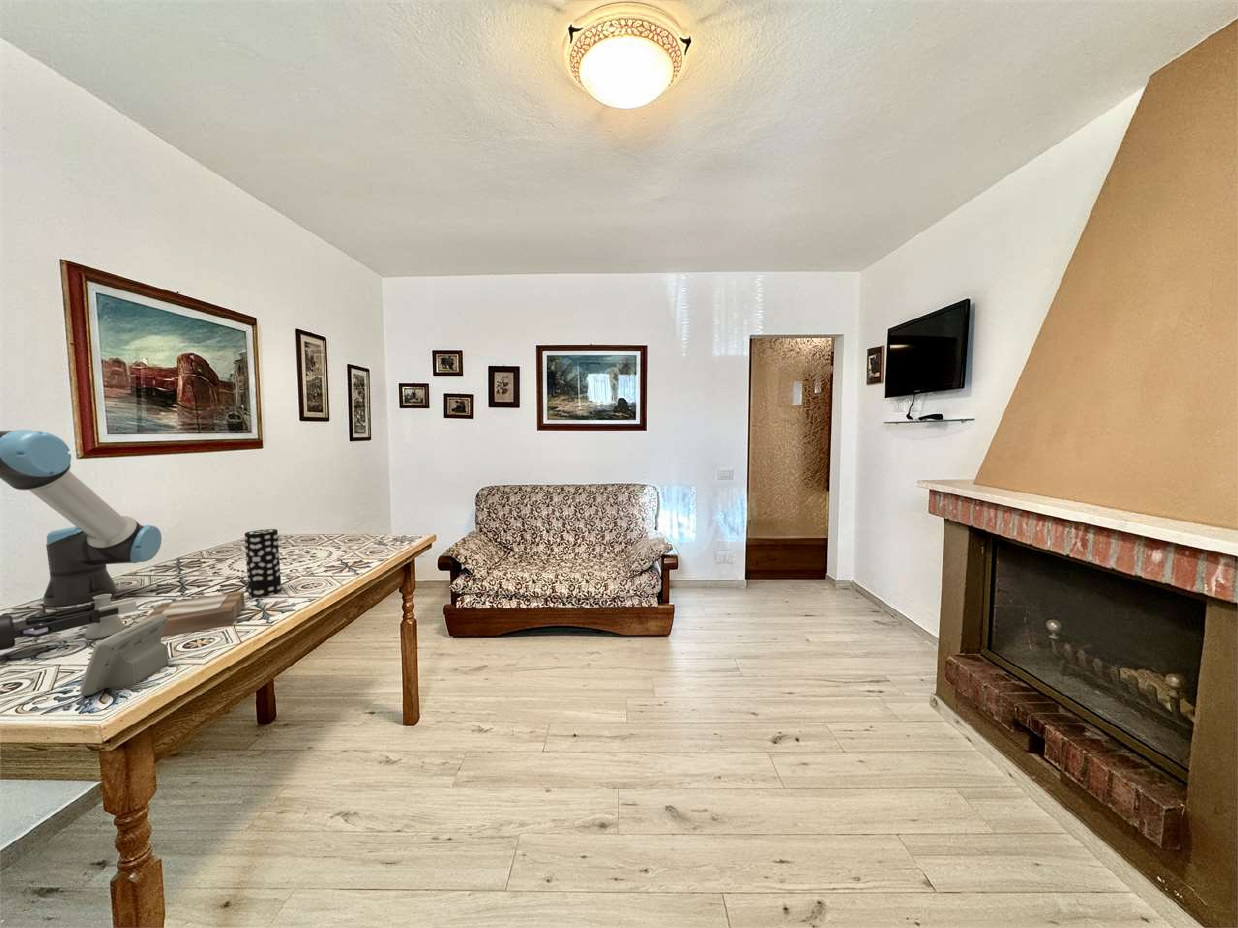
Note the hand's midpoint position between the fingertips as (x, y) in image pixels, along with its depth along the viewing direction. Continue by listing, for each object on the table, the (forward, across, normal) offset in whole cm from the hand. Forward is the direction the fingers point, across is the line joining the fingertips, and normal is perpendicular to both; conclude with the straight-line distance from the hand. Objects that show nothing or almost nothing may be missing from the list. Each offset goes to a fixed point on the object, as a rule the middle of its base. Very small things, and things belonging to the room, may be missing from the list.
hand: (134, 604), depth 122 cm
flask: (-5, 0, -6) cm, 8 cm away
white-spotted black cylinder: (+29, -2, -6) cm, 30 cm away
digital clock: (-7, +37, -6) cm, 38 cm away
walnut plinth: (+10, +9, -6) cm, 15 cm away
